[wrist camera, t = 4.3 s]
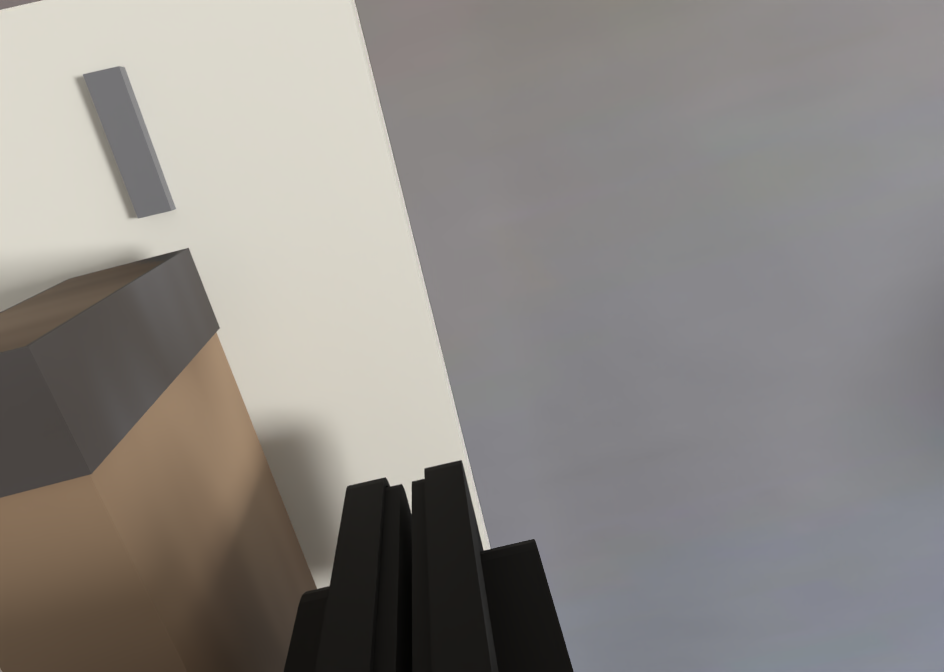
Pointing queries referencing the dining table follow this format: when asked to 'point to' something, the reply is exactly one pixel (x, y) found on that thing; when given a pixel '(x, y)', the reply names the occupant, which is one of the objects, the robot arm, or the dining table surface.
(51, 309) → the walnut dial lever
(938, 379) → the dining table surface
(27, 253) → the dial plate
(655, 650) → the dining table surface
